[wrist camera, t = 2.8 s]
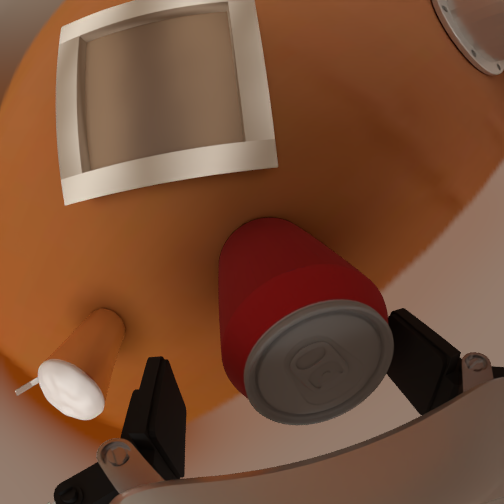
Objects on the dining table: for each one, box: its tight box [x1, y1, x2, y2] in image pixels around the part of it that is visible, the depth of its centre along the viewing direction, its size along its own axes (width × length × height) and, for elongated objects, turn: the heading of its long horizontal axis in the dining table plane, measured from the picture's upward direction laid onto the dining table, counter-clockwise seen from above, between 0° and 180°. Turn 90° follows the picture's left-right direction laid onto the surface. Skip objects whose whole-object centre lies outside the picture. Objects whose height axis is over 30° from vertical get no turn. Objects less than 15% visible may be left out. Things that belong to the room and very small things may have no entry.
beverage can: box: [218, 218, 394, 425], centre depth 14 cm, size 7×7×12 cm
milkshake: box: [15, 308, 126, 420], centre depth 15 cm, size 4×5×10 cm
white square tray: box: [56, 0, 278, 205], centre depth 14 cm, size 12×12×4 cm
